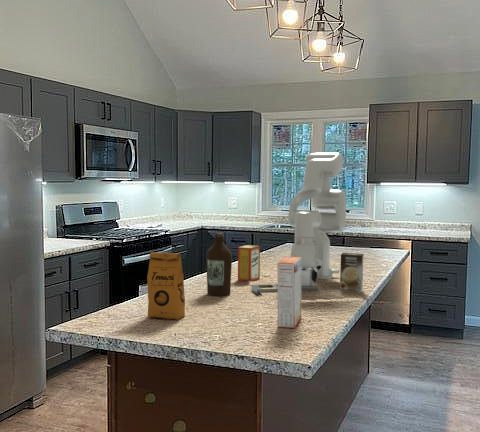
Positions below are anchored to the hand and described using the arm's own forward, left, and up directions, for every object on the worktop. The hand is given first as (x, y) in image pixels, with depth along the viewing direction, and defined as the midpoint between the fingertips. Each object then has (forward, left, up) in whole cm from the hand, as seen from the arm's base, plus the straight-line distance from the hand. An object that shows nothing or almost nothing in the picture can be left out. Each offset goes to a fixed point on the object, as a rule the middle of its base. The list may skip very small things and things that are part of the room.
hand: (303, 281), depth 224 cm
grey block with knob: (0, 0, -3) cm, 3 cm away
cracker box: (+20, +48, -4) cm, 52 cm away
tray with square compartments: (+8, 0, -4) cm, 9 cm away
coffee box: (-20, +4, -4) cm, 21 cm away
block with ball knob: (-4, -9, -4) cm, 11 cm away
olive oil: (+36, 0, -4) cm, 36 cm away
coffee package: (+59, +34, -4) cm, 68 cm away
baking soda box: (+17, -30, -4) cm, 35 cm away
